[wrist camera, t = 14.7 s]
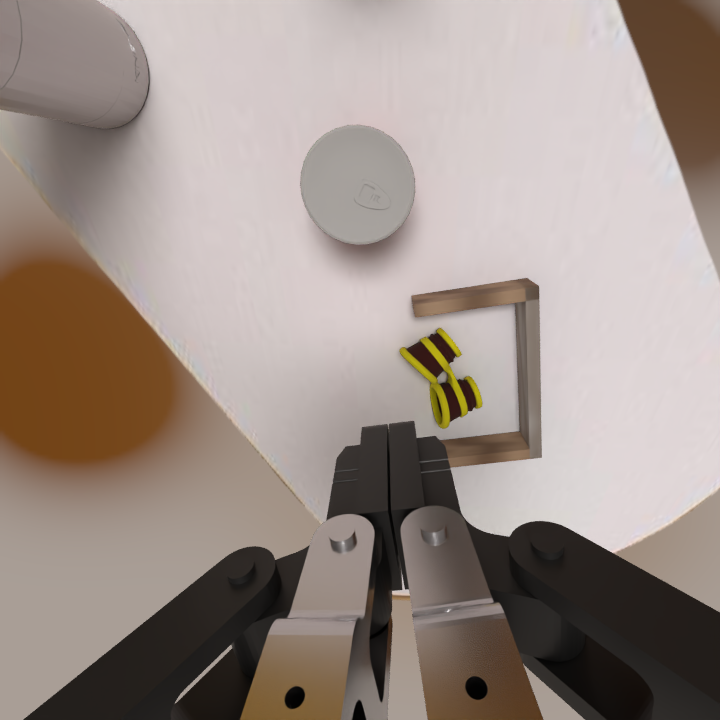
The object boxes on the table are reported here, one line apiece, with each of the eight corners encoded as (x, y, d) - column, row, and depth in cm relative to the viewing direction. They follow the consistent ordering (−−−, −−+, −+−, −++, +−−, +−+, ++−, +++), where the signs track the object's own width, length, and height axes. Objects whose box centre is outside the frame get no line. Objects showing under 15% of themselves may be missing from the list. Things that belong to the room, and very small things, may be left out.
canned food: (398, 236, 41) (403, 254, 31) (315, 221, 41) (293, 234, 31) (416, 147, 38) (427, 135, 28) (326, 131, 38) (305, 113, 28)
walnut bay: (431, 450, 50) (434, 469, 47) (411, 295, 43) (413, 305, 40) (531, 439, 49) (541, 457, 46) (527, 278, 42) (539, 286, 39)
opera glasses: (474, 394, 48) (493, 413, 43) (432, 417, 48) (446, 438, 44) (438, 319, 45) (454, 330, 40) (394, 344, 45) (404, 358, 40)
